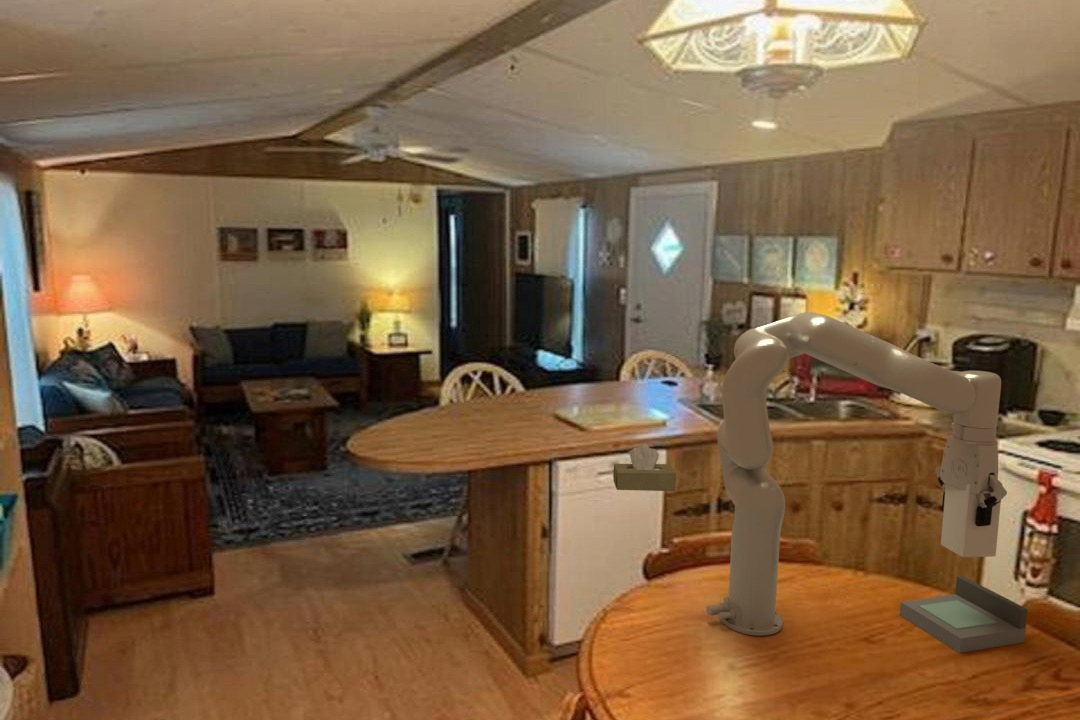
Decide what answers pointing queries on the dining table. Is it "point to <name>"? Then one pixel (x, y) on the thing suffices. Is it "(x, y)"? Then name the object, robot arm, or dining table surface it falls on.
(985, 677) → the dining table surface
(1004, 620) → the plate
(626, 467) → the tissue box
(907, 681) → the dining table surface
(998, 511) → the milk carton
